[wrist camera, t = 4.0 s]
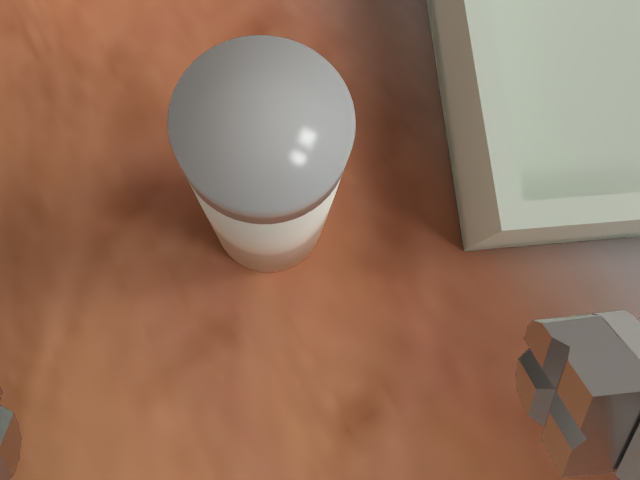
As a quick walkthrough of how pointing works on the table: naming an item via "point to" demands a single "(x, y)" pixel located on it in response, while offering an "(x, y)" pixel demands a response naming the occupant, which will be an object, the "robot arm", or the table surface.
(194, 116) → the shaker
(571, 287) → the table surface
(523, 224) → the sage tray
